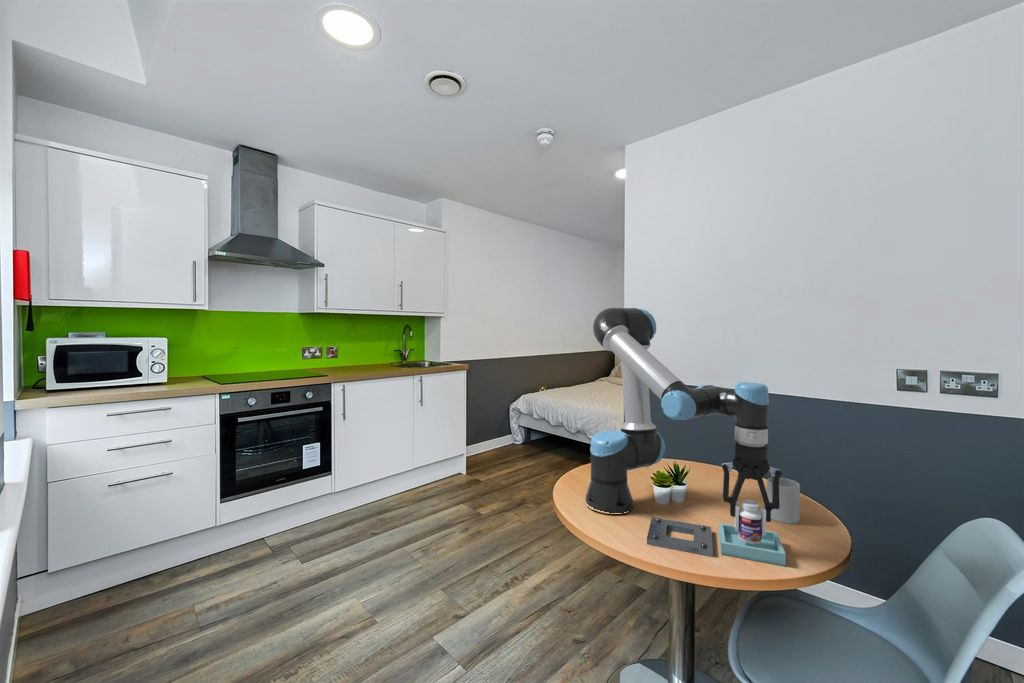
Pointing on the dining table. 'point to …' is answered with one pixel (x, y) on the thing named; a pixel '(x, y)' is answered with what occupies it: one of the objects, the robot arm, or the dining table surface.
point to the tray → (752, 546)
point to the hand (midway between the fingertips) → (749, 530)
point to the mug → (786, 501)
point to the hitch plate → (698, 546)
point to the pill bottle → (750, 522)
